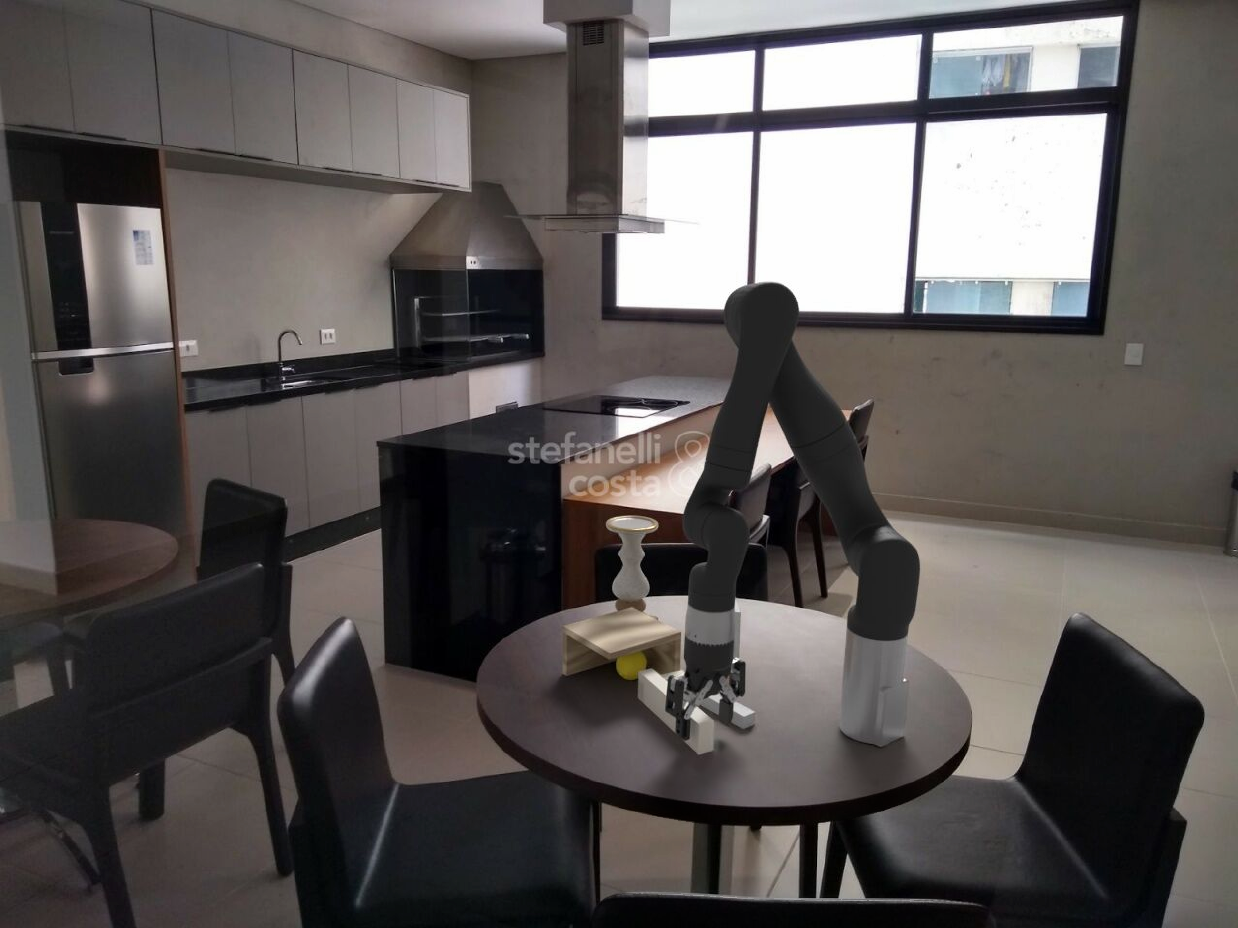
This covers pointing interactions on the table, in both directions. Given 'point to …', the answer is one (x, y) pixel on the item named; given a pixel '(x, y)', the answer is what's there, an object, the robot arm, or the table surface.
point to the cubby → (620, 642)
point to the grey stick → (740, 713)
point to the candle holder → (631, 561)
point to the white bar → (654, 698)
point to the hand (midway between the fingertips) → (704, 730)
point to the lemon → (631, 665)
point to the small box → (737, 630)
